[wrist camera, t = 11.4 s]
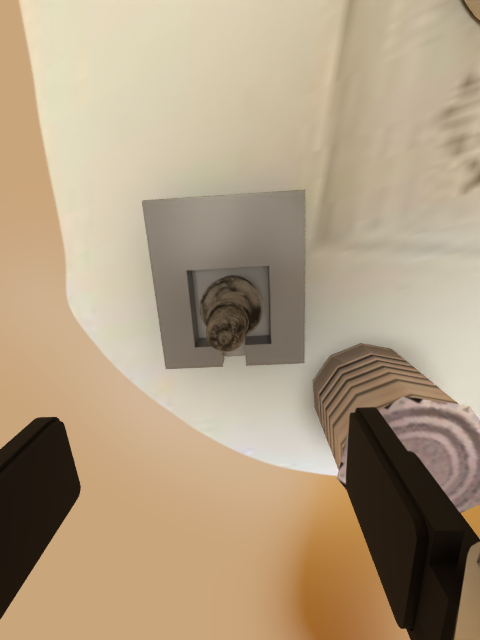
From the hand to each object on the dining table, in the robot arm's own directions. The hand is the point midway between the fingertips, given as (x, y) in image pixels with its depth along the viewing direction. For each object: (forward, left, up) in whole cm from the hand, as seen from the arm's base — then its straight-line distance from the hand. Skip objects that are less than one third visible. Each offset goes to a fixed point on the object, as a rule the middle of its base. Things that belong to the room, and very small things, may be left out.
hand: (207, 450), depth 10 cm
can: (+11, +14, -23) cm, 29 cm away
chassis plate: (-2, 0, -22) cm, 22 cm away
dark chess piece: (0, 0, -22) cm, 22 cm away
